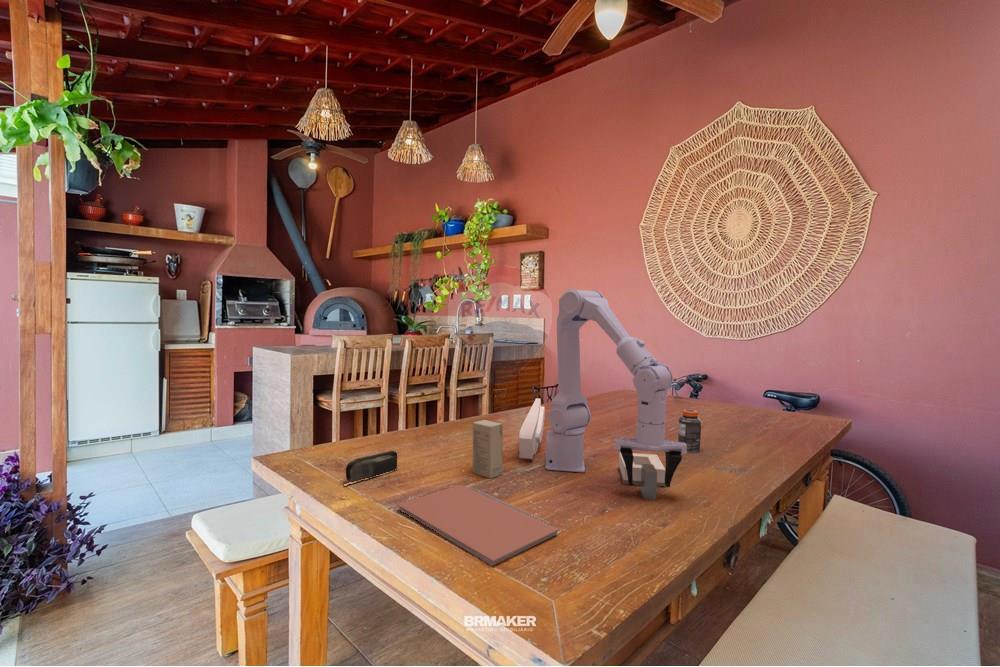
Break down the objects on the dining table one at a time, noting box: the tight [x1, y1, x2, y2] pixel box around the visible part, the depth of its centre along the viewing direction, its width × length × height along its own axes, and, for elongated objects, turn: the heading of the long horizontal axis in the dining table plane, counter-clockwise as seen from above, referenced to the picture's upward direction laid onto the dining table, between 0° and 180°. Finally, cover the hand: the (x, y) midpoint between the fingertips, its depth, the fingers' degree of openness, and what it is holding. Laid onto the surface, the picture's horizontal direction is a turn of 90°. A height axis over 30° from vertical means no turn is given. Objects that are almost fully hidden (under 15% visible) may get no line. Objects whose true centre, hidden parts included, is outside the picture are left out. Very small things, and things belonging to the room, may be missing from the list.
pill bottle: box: [677, 408, 702, 453], centre depth 138 cm, size 6×6×11 cm
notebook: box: [397, 484, 560, 567], centre depth 90 cm, size 27×17×2 cm, turn 44°
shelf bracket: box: [518, 398, 546, 460], centre depth 136 cm, size 6×25×13 cm, turn 168°
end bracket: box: [640, 464, 657, 501], centre depth 104 cm, size 2×5×6 cm, turn 172°
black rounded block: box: [344, 450, 398, 484], centre depth 111 cm, size 5×3×15 cm
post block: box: [618, 452, 666, 487], centre depth 115 cm, size 9×11×4 cm
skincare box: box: [472, 419, 504, 479], centre depth 115 cm, size 6×4×12 cm
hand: (648, 484), depth 104 cm, fingers open, 7 cm apart
